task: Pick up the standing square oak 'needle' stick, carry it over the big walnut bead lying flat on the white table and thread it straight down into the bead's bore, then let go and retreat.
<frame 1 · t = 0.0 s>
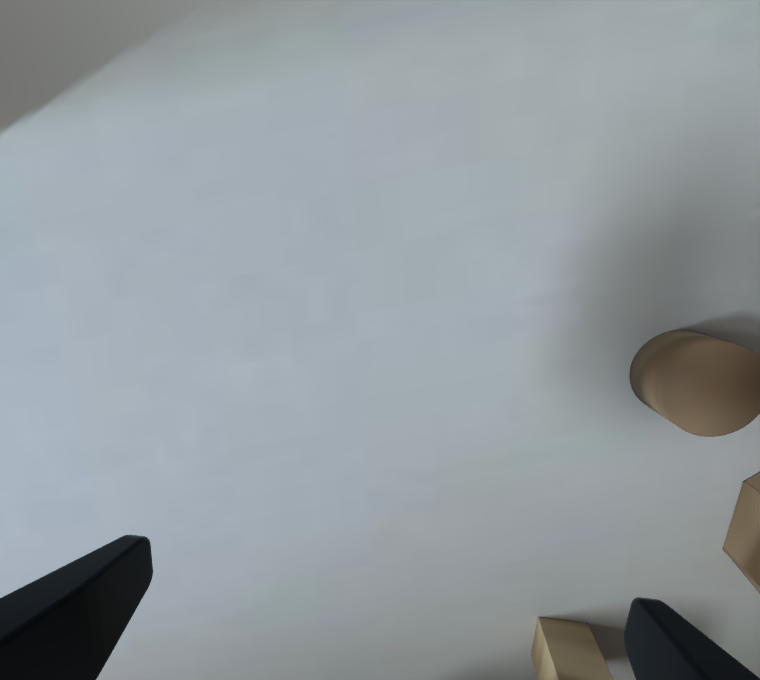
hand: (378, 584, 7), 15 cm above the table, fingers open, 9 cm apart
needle: (558, 639, 25), on the table
loose bead: (673, 371, 20), on the table
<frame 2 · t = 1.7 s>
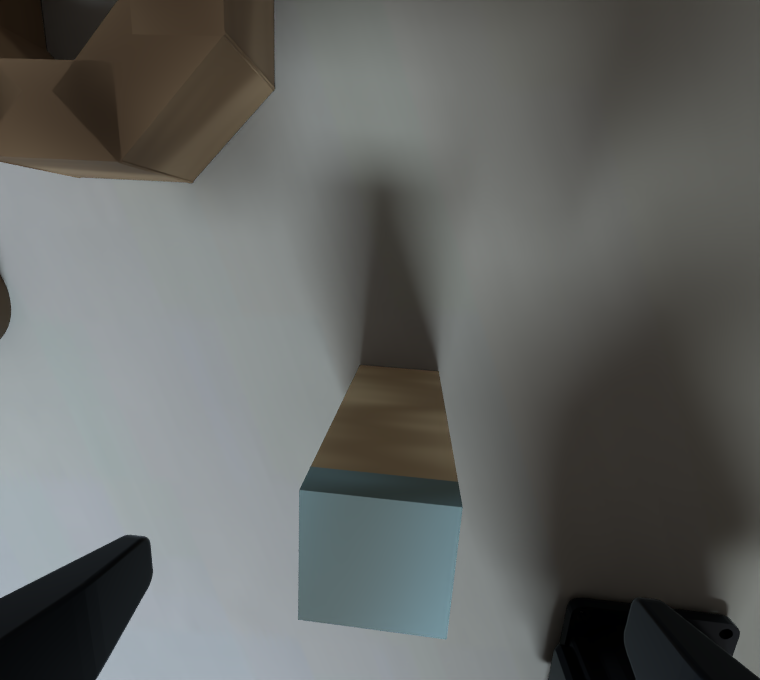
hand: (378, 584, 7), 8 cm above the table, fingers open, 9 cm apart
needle: (396, 404, 15), on the table
bead ring: (120, 11, 13), on the table
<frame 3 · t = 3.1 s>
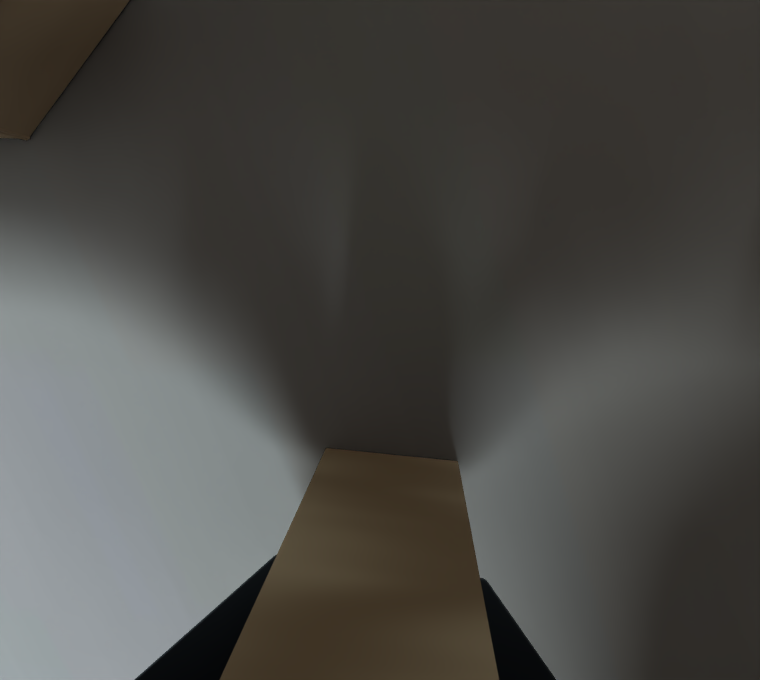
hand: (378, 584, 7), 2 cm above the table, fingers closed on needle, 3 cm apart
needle: (387, 511, 9), on the table, touching gripper
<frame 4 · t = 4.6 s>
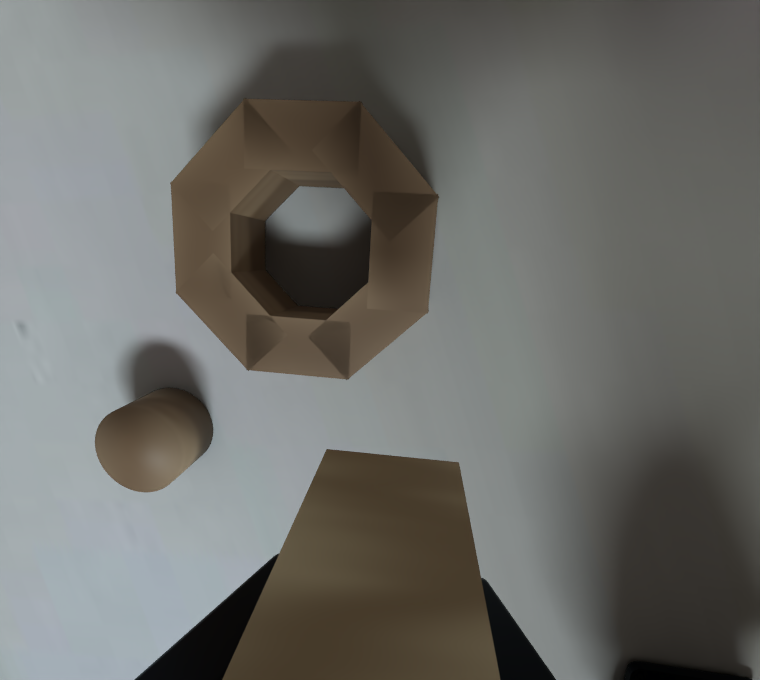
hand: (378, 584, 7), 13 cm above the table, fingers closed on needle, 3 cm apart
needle: (387, 513, 9), point 11 cm above the table, touching gripper
loose bead: (176, 424, 22), on the table
bead ring: (321, 249, 19), on the table
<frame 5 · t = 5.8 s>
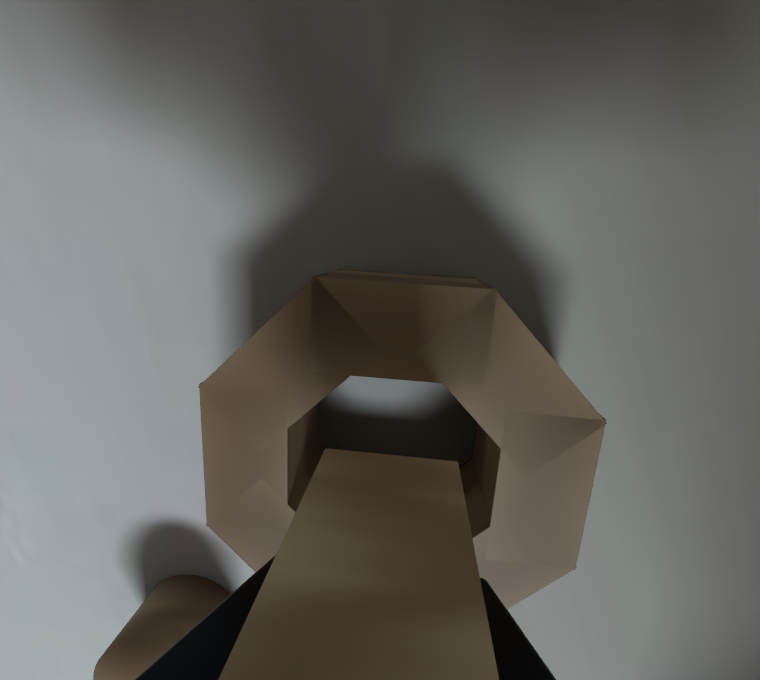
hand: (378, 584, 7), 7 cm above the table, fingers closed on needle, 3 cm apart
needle: (386, 512, 9), point 5 cm above the table, touching gripper
loose bead: (197, 616, 17), on the table
bead ring: (396, 421, 14), on the table
when the fingers open (4 cm above the table, at t = 6.5 s): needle drops 3 cm, resting in bead ring.
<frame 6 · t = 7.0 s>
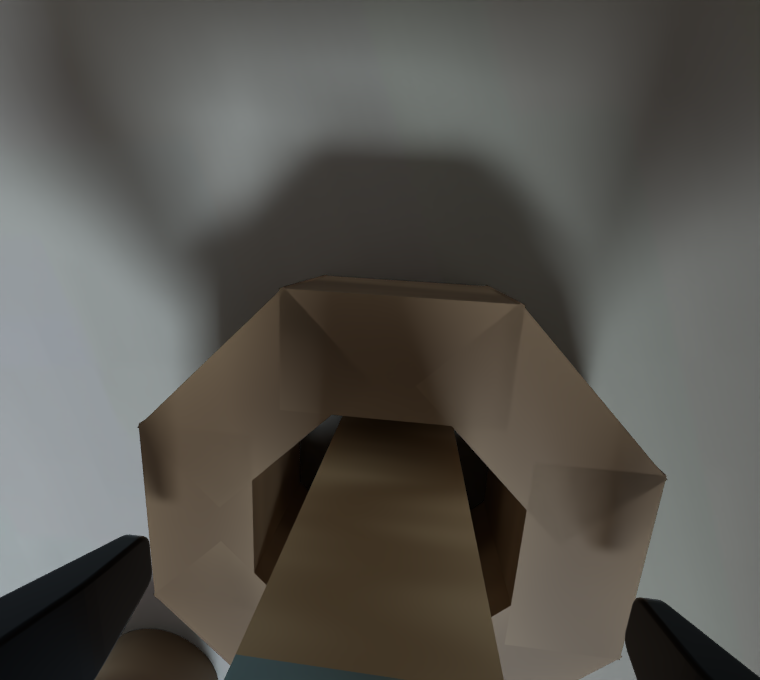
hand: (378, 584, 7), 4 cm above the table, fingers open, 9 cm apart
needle: (394, 457, 12), resting in bead ring
loose bead: (163, 674, 15), on the table
bead ring: (392, 457, 12), on the table
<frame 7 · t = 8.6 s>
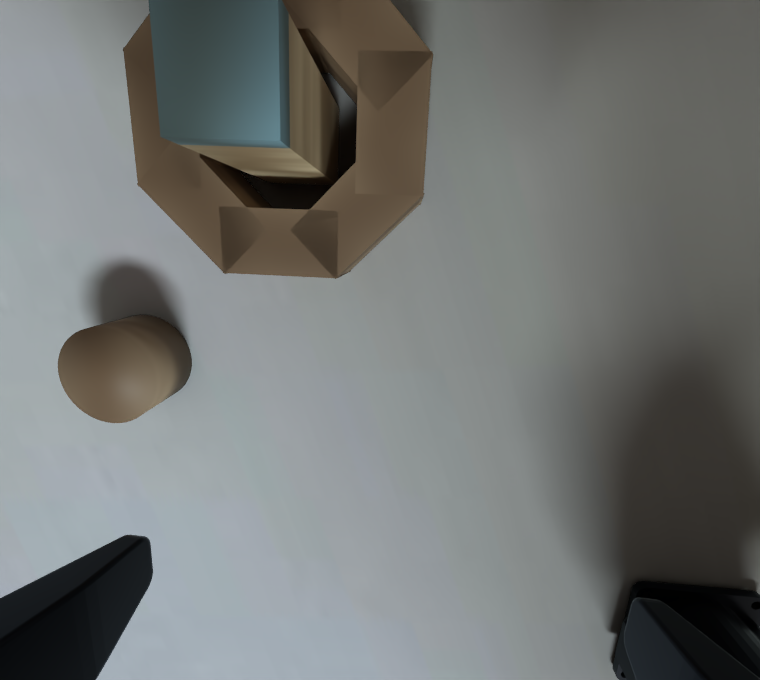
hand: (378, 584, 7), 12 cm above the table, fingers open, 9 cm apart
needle: (304, 147, 17), resting in bead ring
loose bead: (150, 356, 20), on the table
bead ring: (302, 146, 17), on the table
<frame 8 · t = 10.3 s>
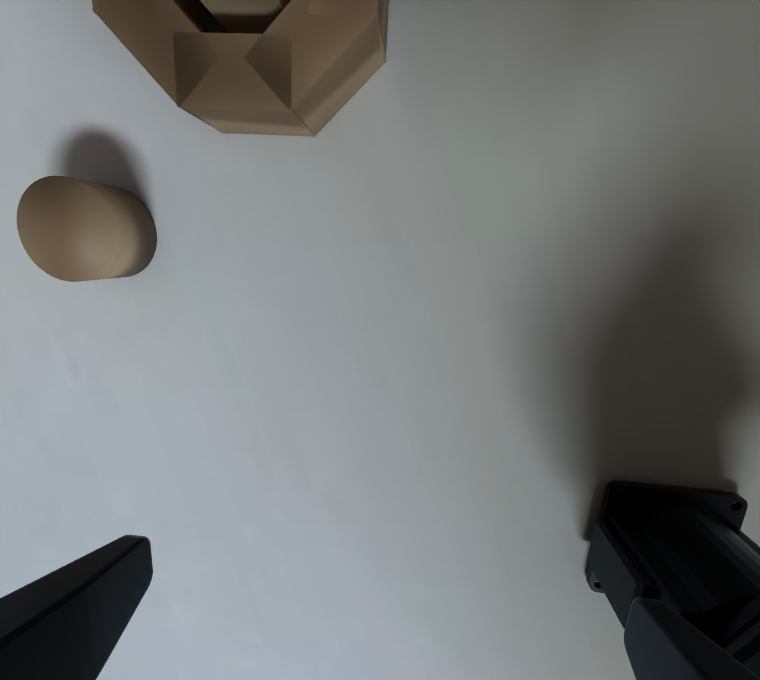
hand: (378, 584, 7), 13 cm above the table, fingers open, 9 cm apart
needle: (269, 2, 17), resting in bead ring
loose bead: (116, 233, 20), on the table
bead ring: (267, 1, 17), on the table
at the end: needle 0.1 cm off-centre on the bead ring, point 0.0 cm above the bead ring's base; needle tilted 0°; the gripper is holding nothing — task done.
